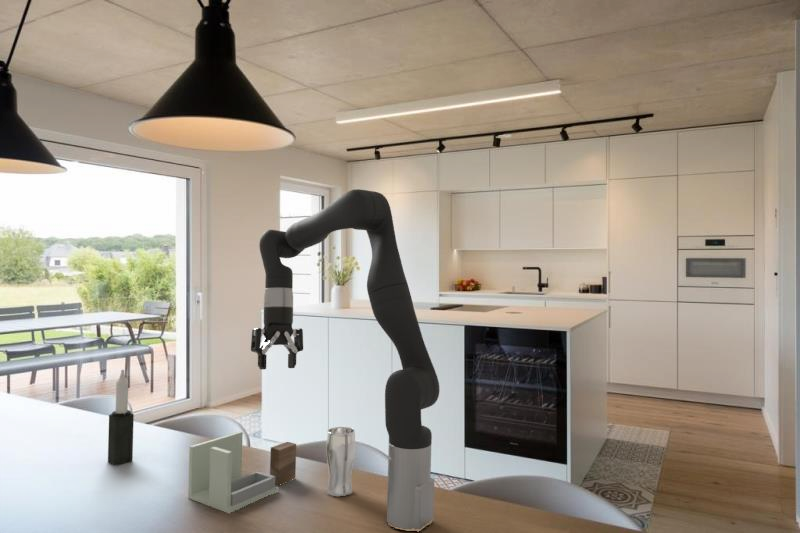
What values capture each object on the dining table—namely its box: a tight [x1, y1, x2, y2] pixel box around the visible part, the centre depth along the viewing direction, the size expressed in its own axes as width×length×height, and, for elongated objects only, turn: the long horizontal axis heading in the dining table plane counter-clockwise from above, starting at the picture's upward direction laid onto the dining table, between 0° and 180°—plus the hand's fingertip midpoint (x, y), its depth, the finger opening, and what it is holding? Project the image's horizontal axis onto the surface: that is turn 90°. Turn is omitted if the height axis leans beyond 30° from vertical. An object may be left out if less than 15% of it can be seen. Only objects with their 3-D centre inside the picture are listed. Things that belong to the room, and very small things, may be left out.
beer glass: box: [325, 426, 356, 496], centre depth 138 cm, size 7×7×15 cm
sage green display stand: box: [187, 431, 280, 514], centre depth 135 cm, size 14×15×13 cm
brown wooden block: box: [269, 441, 297, 486], centre depth 144 cm, size 3×6×9 cm, turn 147°
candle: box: [107, 369, 135, 466], centre depth 155 cm, size 5×5×25 cm
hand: (277, 368), depth 147 cm, fingers open, 8 cm apart
